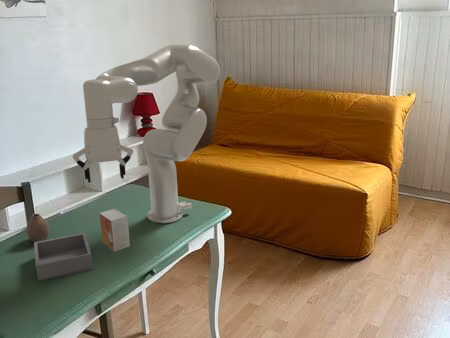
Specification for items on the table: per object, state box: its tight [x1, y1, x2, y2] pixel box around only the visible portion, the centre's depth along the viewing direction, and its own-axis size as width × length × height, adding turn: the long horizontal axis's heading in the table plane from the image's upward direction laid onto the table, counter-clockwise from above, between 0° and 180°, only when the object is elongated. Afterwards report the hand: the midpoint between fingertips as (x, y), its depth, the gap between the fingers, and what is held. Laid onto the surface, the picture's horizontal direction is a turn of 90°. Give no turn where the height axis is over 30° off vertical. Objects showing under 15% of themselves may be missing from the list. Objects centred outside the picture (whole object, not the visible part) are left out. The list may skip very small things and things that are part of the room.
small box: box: [99, 208, 131, 253], centre depth 143 cm, size 8×6×10 cm
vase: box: [26, 213, 51, 243], centre depth 147 cm, size 7×7×9 cm
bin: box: [33, 232, 94, 283], centre depth 134 cm, size 15×15×5 cm
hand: (105, 179), depth 138 cm, fingers open, 9 cm apart
